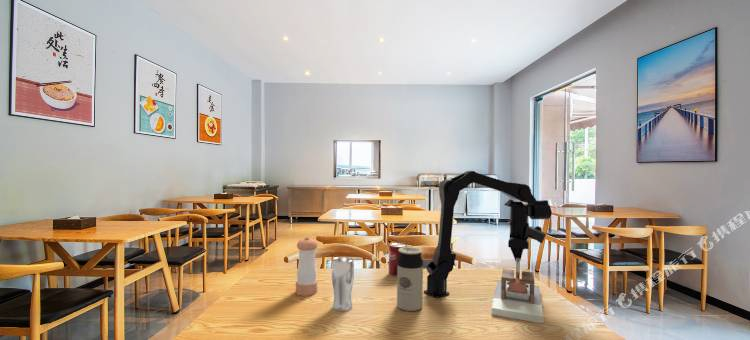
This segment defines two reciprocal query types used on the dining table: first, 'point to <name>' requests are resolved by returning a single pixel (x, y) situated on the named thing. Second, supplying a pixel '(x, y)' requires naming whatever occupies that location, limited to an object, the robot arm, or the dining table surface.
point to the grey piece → (516, 294)
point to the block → (517, 286)
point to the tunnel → (509, 276)
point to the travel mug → (410, 279)
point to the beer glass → (342, 282)
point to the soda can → (394, 257)
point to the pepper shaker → (306, 268)
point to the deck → (518, 305)
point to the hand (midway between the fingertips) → (518, 263)
